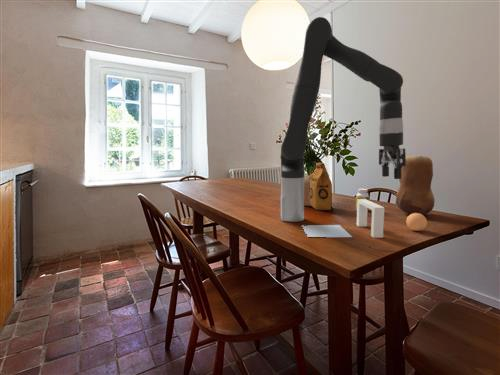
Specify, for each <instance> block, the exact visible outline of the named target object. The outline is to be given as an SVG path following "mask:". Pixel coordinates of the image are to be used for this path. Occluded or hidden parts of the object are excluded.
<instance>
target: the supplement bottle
mask: <svg viewBox="0 0 500 375" xmlns="http://www.w3.org/2000/svg"><path fill="white" fill-rule="evenodd" d="M357 199H366V200H369V201H370V195H369V193H368V189H367V188H358V189H357V193H356V197H355V210H356V211H357ZM368 211H369V209H368V210H367V212H368Z"/></svg>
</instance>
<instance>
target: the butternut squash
mask: <svg viewBox="0 0 500 375" xmlns="http://www.w3.org/2000/svg"><path fill="white" fill-rule="evenodd" d="M433 167H434V164H433V161H432V159H431V158H430V157H429V156H425V155H408V156H406V166H403V167H402V168H401V179H398V180H399V183H400V185H399V189H398V190H397V193H396V198H395V204H396V205H397V207H398V208H399V210H400V211H402V212H404V213H406V214H409V215H411V214H413V213H419V214H422V215H423V216H425V215H427V214H429V213H430V212H432V211H433V209H434V207H435V195H434V194H433V190H432V181H433V177H434V168H433Z"/></svg>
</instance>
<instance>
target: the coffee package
mask: <svg viewBox="0 0 500 375" xmlns="http://www.w3.org/2000/svg"><path fill="white" fill-rule="evenodd" d="M315 163H316V162H315ZM316 166H317V167H316V169H315V170H314V169H313V170H314V172H313V171H312V172H313V173H312V172H311V173H312V174H311V173H310V175H311V178H310V189H309V188H308V193H309V197H308V199H309V198H310V204H311V205H310V206H311V207H312V208H313V209H315V211H331V210H332V195H333V193H332V185H331V178H330V175H329V172H328V169H327V167H326V165H325V163H324V162H318V163H316Z"/></svg>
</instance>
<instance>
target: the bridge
mask: <svg viewBox="0 0 500 375" xmlns="http://www.w3.org/2000/svg"><path fill="white" fill-rule="evenodd" d="M367 210H368V211H369V210H371V227H370V236H371V237H372V238H377V239H378V238H382V239H383V238H384V225H385V207H384V206H382V205H379V204H378V203H376V202H373V201H371V200H370V199H369V200H366V199H357V210H356V226H357V227H368V211H367Z"/></svg>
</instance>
